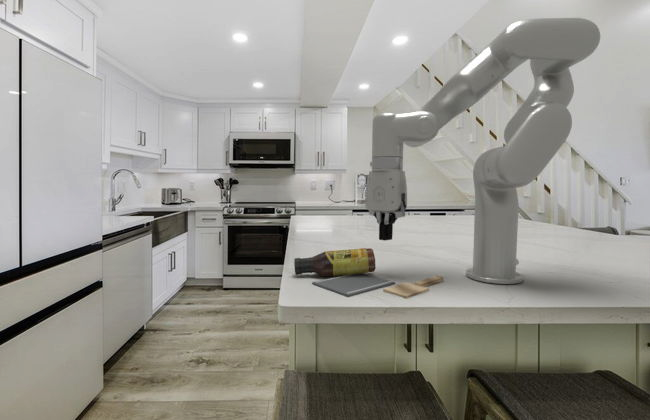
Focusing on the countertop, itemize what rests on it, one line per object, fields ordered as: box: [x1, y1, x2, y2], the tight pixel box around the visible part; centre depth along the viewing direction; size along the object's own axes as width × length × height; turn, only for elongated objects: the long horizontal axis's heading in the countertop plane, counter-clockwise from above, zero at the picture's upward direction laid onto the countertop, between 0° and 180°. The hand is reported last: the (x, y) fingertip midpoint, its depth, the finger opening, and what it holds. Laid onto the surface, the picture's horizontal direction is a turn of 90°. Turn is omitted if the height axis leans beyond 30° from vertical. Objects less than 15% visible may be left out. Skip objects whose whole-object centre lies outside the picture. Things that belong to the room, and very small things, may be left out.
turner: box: [383, 275, 444, 299], centre depth 77 cm, size 17×6×1 cm, turn 130°
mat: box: [311, 273, 396, 298], centre depth 80 cm, size 15×12×1 cm
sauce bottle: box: [293, 247, 376, 277], centre depth 86 cm, size 6×6×20 cm
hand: (385, 239), depth 86 cm, fingers closed
